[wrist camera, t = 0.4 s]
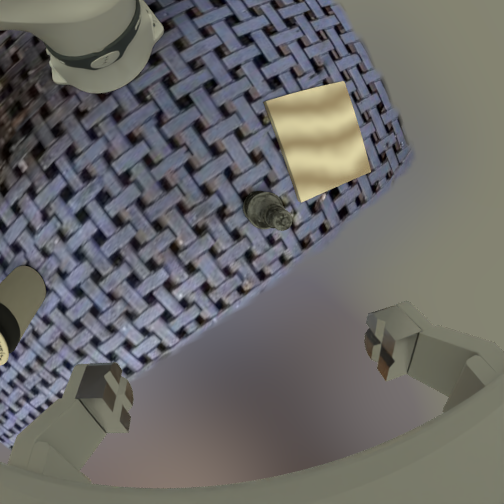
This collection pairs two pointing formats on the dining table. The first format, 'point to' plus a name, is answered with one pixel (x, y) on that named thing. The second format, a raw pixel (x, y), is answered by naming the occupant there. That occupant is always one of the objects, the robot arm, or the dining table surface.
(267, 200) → the weathered chess pawn
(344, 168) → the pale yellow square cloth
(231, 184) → the dining table surface
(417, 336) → the robot arm
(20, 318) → the travel mug
